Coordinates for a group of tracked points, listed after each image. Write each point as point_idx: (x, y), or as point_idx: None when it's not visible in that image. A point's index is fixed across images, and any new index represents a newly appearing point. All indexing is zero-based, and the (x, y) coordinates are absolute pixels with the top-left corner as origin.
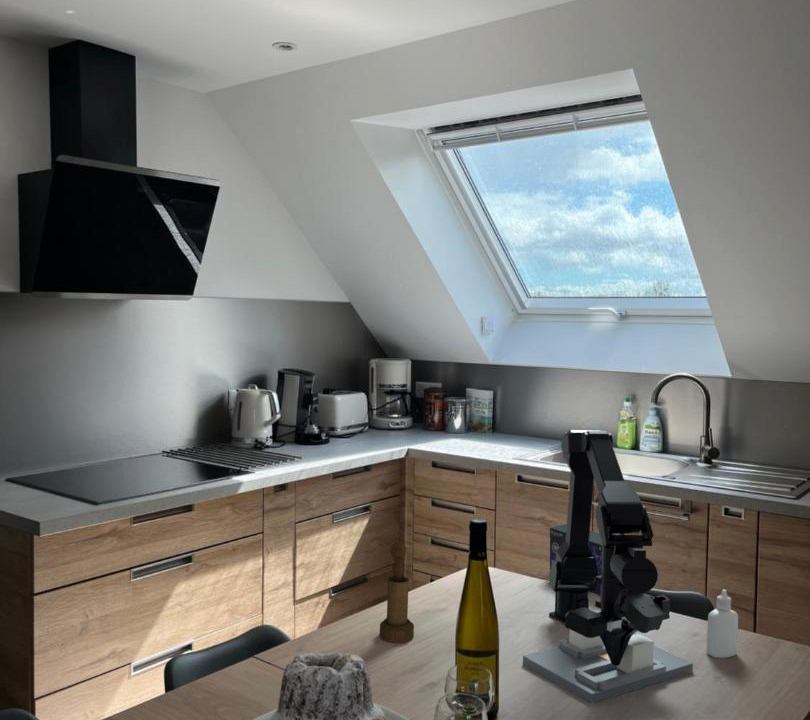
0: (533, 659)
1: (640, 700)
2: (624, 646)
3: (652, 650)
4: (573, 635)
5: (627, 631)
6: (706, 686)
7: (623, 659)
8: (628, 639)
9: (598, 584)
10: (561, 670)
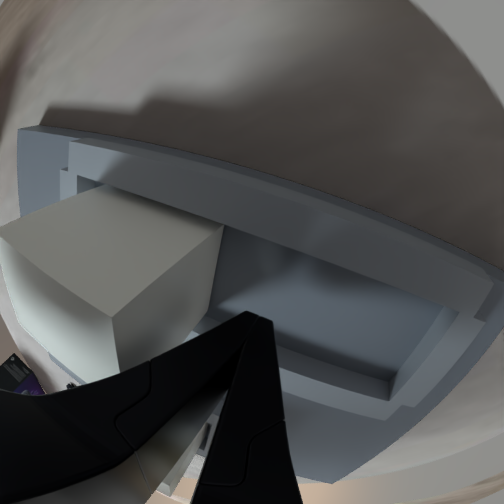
0: (338, 473)
1: (363, 106)
2: (174, 378)
3: (38, 212)
4: (188, 462)
5: (74, 496)
6: (75, 37)
7: (184, 311)
8: (102, 397)
9: (26, 385)
10: (370, 431)
